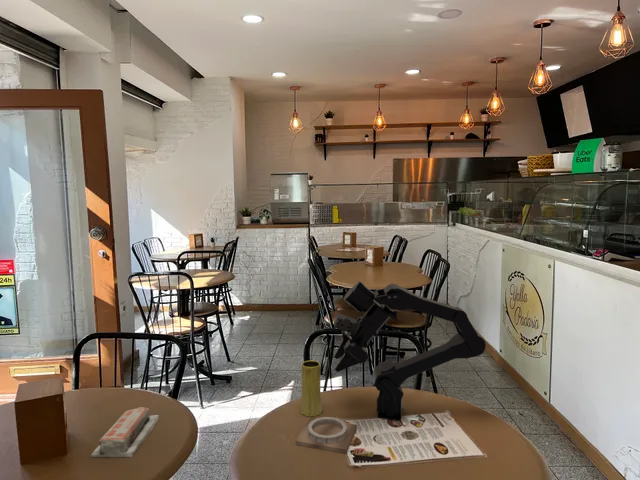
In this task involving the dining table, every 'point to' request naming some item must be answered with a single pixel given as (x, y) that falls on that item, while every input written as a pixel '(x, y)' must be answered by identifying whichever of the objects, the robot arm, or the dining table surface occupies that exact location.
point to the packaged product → (126, 434)
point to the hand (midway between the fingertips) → (335, 364)
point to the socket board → (327, 434)
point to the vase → (311, 389)
